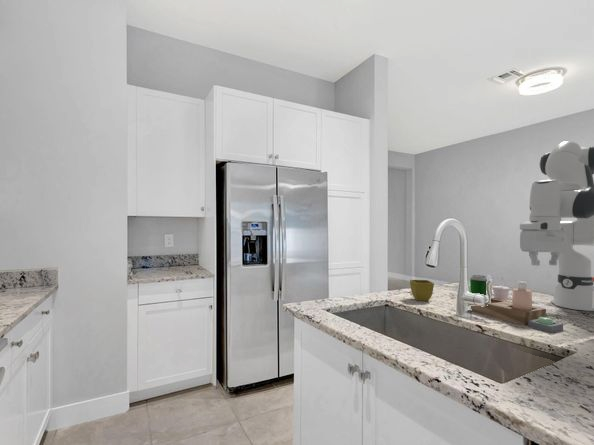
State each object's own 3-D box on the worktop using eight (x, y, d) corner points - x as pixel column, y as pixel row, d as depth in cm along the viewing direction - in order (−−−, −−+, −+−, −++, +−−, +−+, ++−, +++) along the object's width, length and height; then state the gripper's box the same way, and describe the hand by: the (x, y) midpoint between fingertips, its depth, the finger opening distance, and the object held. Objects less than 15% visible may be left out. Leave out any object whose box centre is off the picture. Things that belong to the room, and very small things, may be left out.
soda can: (490, 303, 152) (490, 277, 152) (473, 302, 154) (473, 276, 154) (484, 299, 160) (484, 275, 160) (468, 298, 161) (468, 274, 161)
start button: (542, 326, 114) (542, 316, 114) (555, 329, 110) (555, 319, 110) (535, 327, 112) (535, 317, 112) (548, 331, 108) (548, 320, 108)
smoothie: (509, 312, 136) (510, 278, 136) (491, 310, 139) (492, 277, 139) (509, 309, 141) (509, 276, 141) (492, 307, 145) (492, 275, 145)
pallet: (488, 309, 140) (488, 296, 140) (545, 323, 120) (546, 308, 120) (468, 312, 134) (468, 299, 134) (524, 327, 114) (524, 312, 114)
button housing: (540, 327, 116) (540, 318, 116) (563, 332, 109) (563, 324, 109) (528, 329, 113) (528, 320, 113) (551, 335, 106) (551, 326, 106)
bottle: (518, 316, 125) (518, 280, 126) (535, 320, 120) (535, 282, 120) (508, 318, 123) (509, 281, 123) (525, 322, 117) (525, 283, 118)
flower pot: (434, 302, 152) (434, 283, 152) (415, 301, 152) (415, 282, 153) (427, 298, 161) (427, 279, 161) (409, 297, 161) (409, 279, 161)
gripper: (553, 226, 120) (553, 264, 119) (516, 224, 112) (515, 264, 112) (573, 226, 114) (573, 266, 114) (535, 224, 106) (534, 266, 106)
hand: (544, 265), depth 113 cm, fingers open, 8 cm apart
